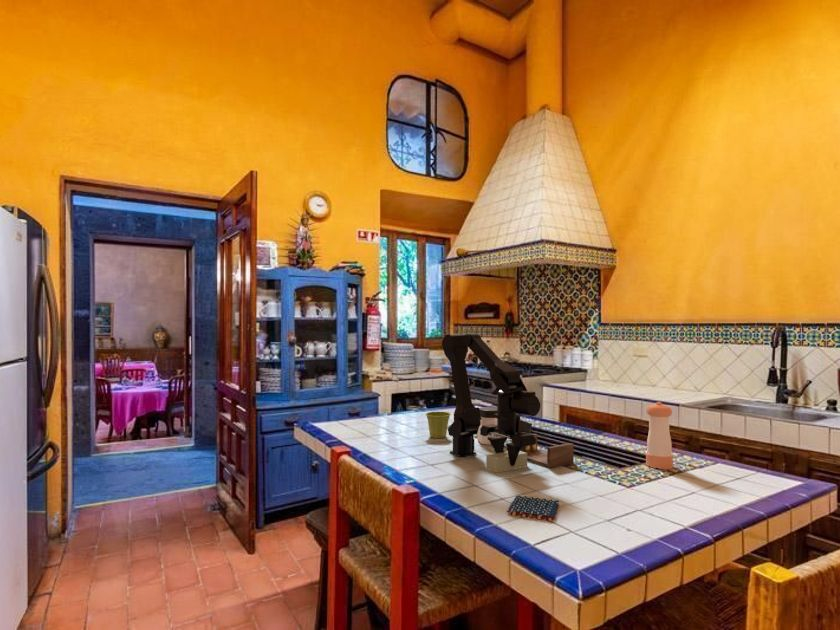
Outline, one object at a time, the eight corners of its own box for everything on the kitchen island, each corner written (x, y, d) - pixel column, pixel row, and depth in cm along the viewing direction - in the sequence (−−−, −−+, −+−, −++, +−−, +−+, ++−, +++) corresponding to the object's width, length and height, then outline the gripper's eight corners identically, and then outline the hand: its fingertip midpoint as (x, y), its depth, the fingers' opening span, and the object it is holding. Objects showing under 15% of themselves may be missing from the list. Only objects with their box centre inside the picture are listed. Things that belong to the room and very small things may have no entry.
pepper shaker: (676, 465, 151) (675, 402, 151) (668, 471, 146) (668, 404, 146) (650, 461, 156) (650, 399, 156) (642, 466, 151) (642, 402, 151)
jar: (505, 444, 177) (505, 410, 177) (483, 445, 175) (483, 411, 176) (496, 438, 186) (496, 406, 186) (475, 439, 184) (475, 407, 184)
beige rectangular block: (496, 472, 144) (496, 458, 144) (486, 468, 148) (486, 455, 148) (527, 466, 151) (527, 453, 151) (516, 462, 154) (516, 449, 154)
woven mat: (514, 501, 122) (514, 493, 122) (559, 508, 118) (559, 499, 118) (505, 517, 112) (505, 508, 112) (553, 524, 108) (553, 515, 108)
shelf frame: (573, 463, 153) (573, 443, 153) (550, 468, 148) (550, 448, 148) (534, 451, 167) (534, 433, 167) (512, 455, 162) (512, 437, 162)
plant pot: (451, 439, 185) (451, 416, 185) (425, 439, 185) (425, 415, 185) (450, 434, 194) (450, 411, 194) (425, 433, 194) (425, 411, 194)
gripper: (549, 413, 146) (549, 467, 146) (506, 404, 162) (506, 453, 162) (521, 417, 140) (521, 473, 140) (479, 407, 156) (479, 458, 156)
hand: (507, 463), depth 149 cm, fingers closed on beige rectangular block, 4 cm apart
